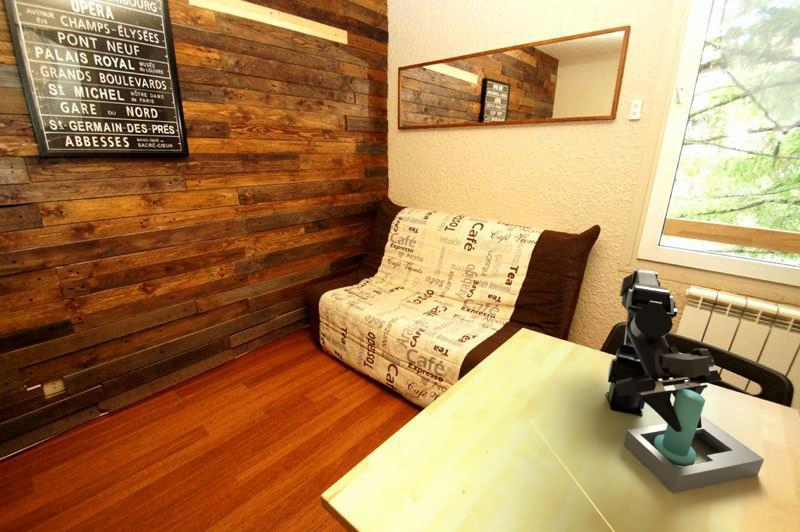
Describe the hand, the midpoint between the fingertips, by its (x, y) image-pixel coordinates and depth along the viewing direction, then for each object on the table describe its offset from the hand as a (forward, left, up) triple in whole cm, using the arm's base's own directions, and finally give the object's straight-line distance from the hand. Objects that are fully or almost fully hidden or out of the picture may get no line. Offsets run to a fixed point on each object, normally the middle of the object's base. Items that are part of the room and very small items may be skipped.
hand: (688, 429), depth 64 cm
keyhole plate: (+3, +3, -9) cm, 10 cm away
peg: (-1, +1, -7) cm, 7 cm away
